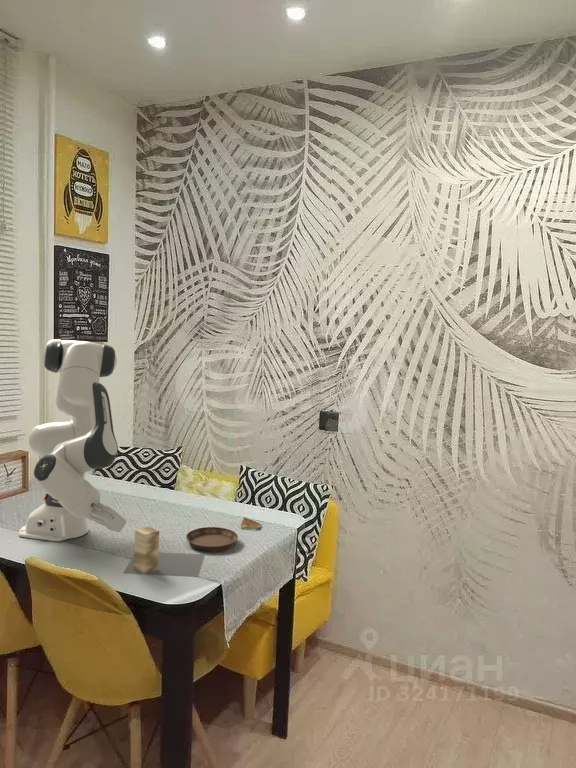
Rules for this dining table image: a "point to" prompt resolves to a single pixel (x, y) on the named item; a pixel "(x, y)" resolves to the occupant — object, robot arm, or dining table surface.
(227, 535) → the plant saucer
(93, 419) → the robot arm
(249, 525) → the pie slice
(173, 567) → the rubber mat
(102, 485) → the dining table surface
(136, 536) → the maple block
